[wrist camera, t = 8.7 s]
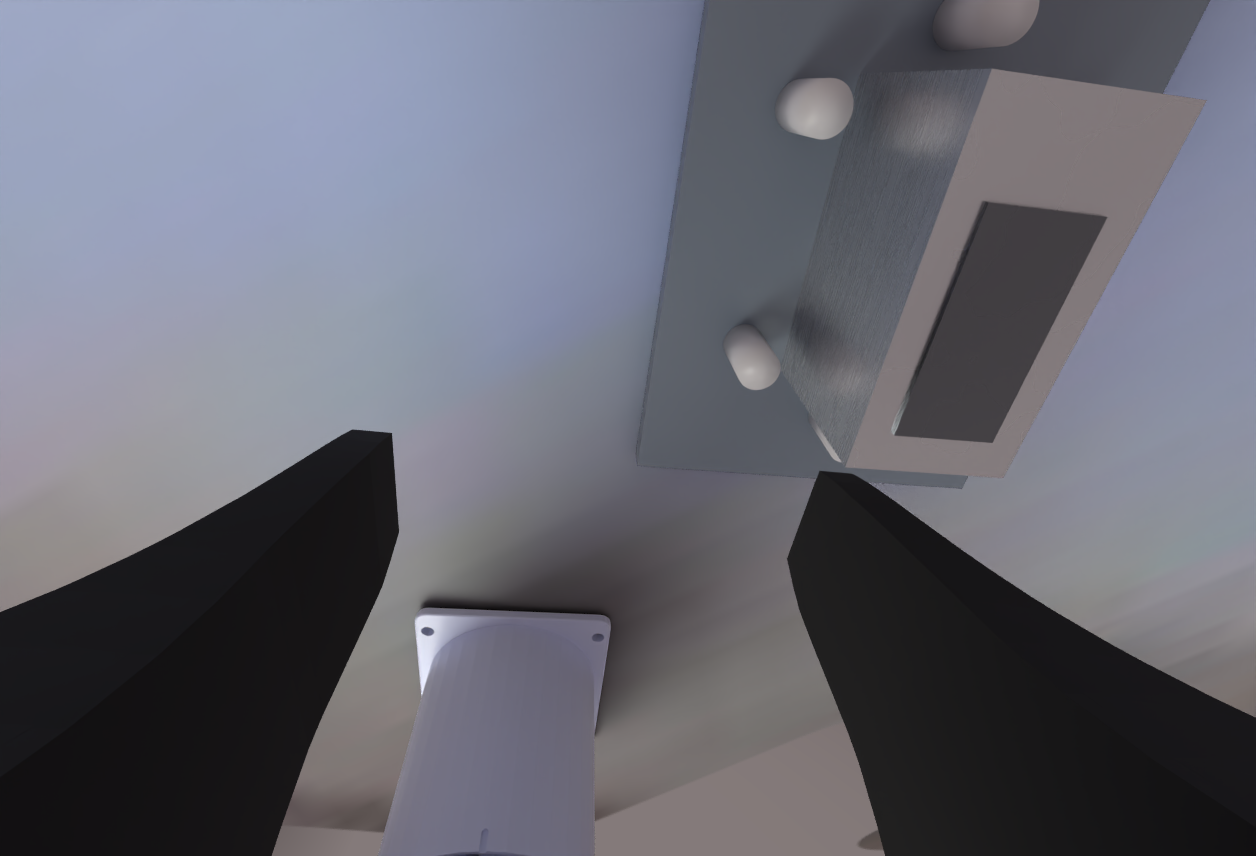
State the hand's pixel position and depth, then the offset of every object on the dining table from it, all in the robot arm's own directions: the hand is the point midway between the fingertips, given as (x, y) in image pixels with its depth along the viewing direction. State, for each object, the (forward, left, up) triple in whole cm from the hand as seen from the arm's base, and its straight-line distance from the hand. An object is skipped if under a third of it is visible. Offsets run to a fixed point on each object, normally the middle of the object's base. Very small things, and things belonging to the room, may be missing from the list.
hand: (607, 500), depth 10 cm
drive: (+3, -8, -9) cm, 12 cm away
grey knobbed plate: (+3, -8, -9) cm, 12 cm away
